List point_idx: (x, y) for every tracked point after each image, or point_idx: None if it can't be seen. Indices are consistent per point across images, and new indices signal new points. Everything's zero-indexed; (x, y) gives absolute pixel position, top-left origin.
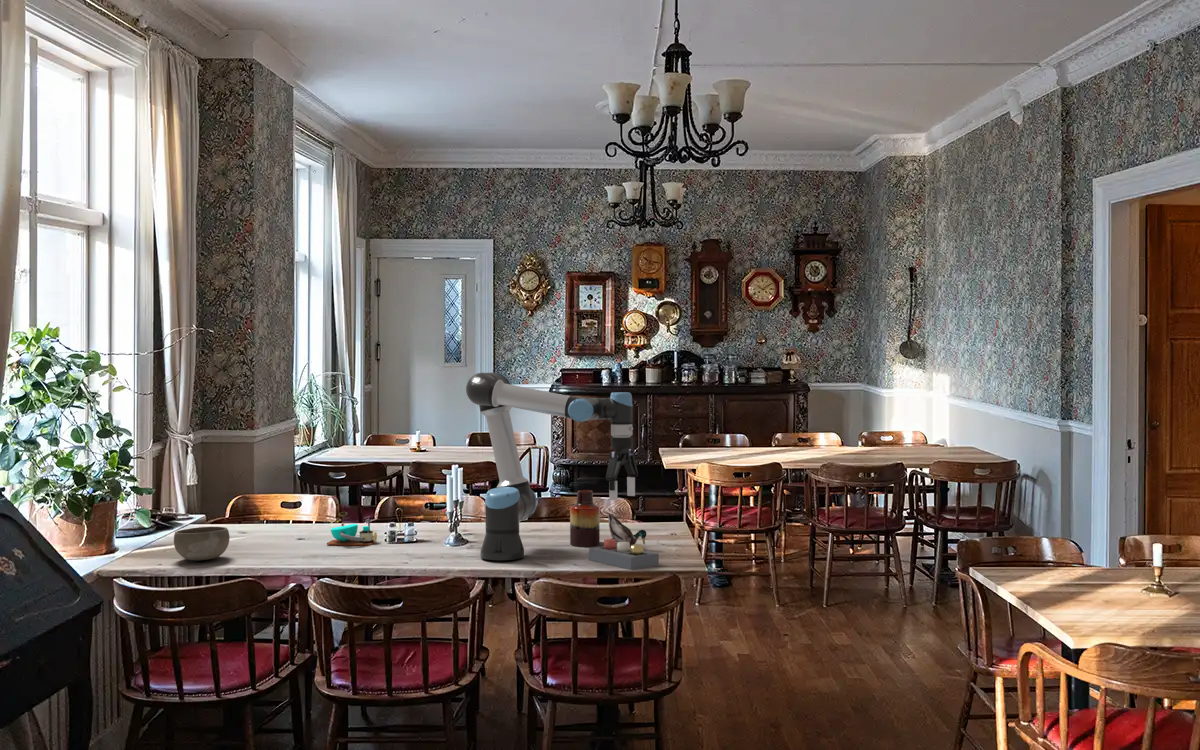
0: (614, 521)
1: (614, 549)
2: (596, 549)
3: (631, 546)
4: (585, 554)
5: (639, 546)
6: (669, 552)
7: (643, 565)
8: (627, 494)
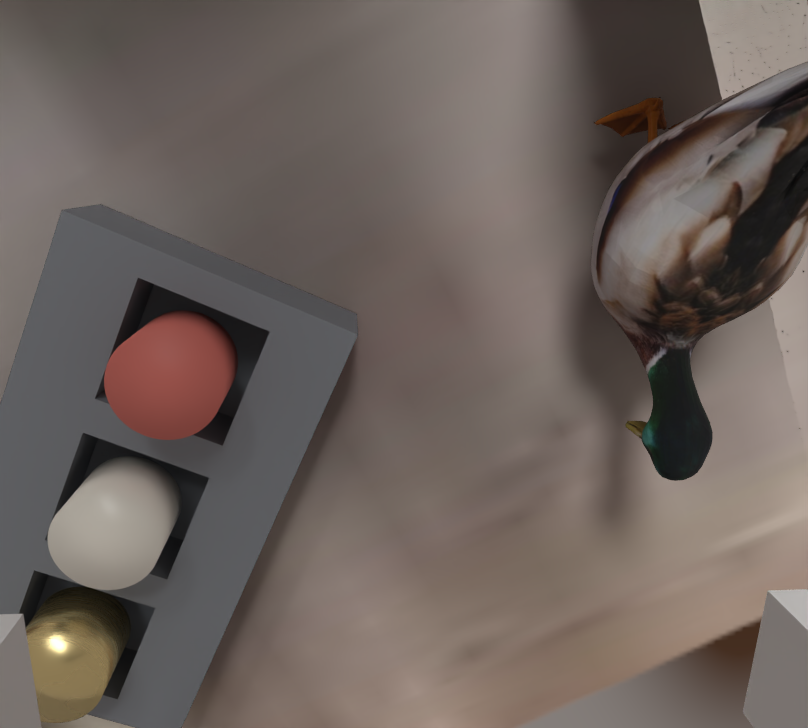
0: (748, 168)
1: None
2: (49, 298)
3: None
4: (313, 48)
5: None
6: (648, 549)
7: None
8: (780, 611)
